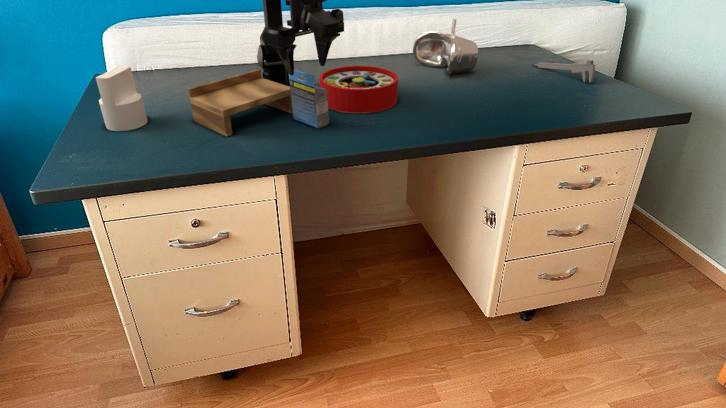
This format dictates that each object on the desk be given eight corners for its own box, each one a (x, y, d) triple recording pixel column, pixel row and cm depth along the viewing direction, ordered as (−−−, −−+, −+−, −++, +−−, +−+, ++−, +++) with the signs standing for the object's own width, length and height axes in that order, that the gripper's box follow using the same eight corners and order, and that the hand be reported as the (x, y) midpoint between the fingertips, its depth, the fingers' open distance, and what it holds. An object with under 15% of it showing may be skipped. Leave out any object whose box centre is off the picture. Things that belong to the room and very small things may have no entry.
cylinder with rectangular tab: (133, 132, 112) (120, 79, 106) (97, 129, 113) (81, 77, 107) (155, 117, 120) (143, 67, 113) (120, 115, 121) (107, 65, 115)
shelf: (261, 99, 130) (258, 68, 126) (295, 111, 123) (293, 79, 119) (193, 121, 117) (187, 88, 113) (226, 136, 110) (221, 101, 106)
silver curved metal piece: (411, 64, 157) (413, 16, 150) (439, 59, 163) (442, 12, 155) (449, 79, 144) (454, 27, 137) (478, 73, 150) (484, 22, 142)
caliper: (592, 83, 142) (597, 61, 139) (589, 84, 141) (595, 61, 138) (536, 65, 157) (540, 45, 153) (534, 66, 156) (537, 45, 153)
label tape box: (329, 124, 116) (327, 71, 110) (316, 129, 113) (314, 75, 107) (304, 114, 121) (301, 63, 115) (291, 119, 119) (287, 67, 112)
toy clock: (304, 82, 123) (341, 62, 139) (305, 105, 126) (341, 82, 142) (379, 94, 116) (409, 71, 132) (378, 118, 119) (408, 93, 135)
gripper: (294, 6, 92) (300, 88, 100) (362, -7, 104) (362, 68, 112) (257, -2, 99) (265, 77, 107) (325, -13, 111) (327, 59, 119)
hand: (307, 70), depth 111 cm, fingers open, 9 cm apart
